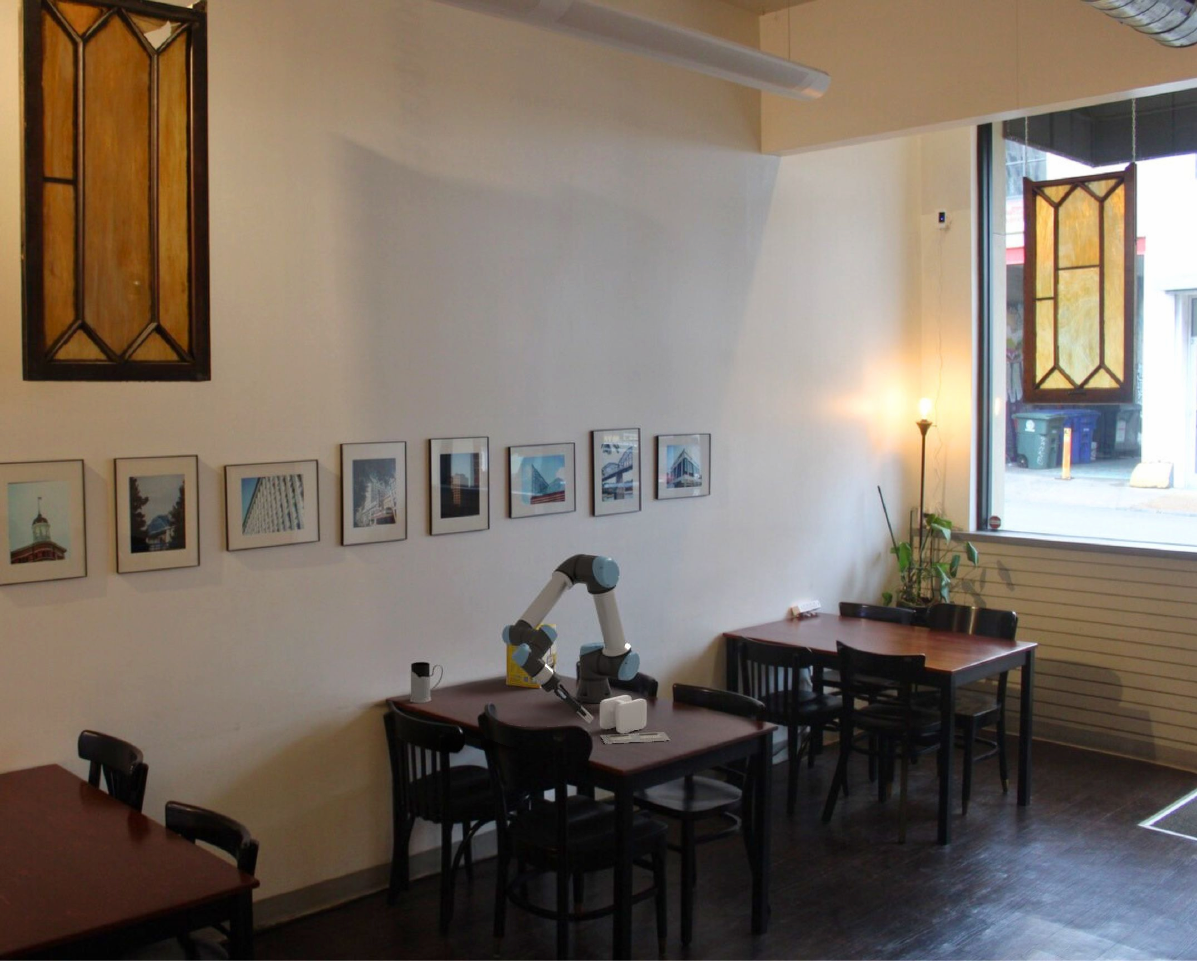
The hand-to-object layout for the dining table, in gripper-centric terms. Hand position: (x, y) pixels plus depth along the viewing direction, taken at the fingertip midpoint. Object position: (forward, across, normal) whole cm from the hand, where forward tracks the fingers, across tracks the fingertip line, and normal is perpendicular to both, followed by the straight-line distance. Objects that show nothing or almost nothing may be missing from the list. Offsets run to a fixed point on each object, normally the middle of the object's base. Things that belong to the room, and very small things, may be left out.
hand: (591, 720), depth 423 cm
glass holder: (-39, -56, -45) cm, 82 cm away
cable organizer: (+12, 0, +6) cm, 13 cm away
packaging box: (-6, -78, -12) cm, 79 cm away
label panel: (+13, +12, +7) cm, 19 cm away
